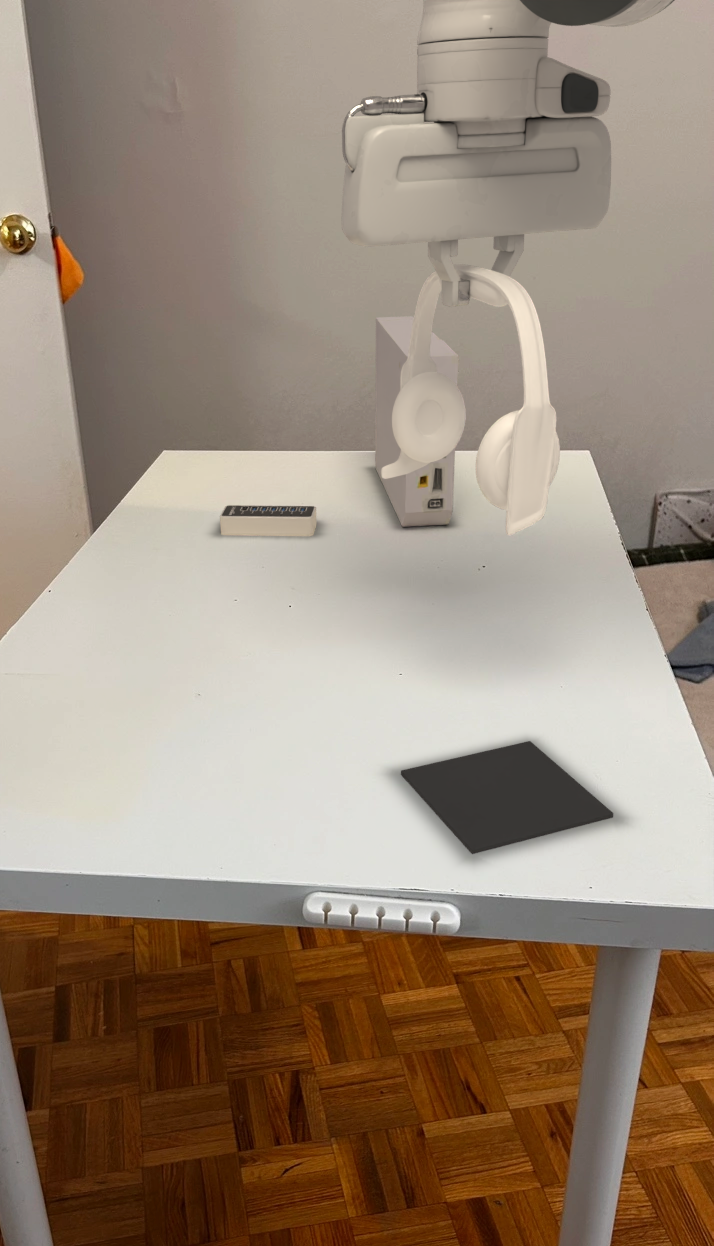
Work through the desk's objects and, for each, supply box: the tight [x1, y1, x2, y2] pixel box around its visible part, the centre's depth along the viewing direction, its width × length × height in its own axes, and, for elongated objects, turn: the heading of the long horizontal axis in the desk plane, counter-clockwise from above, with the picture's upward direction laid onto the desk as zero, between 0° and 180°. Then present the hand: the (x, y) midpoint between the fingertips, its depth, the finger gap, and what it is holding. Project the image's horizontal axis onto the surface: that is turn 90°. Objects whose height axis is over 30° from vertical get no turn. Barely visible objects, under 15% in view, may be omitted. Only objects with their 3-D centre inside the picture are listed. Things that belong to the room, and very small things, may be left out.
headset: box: [381, 263, 561, 537], centre depth 86 cm, size 20×7×18 cm, turn 20°
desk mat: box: [400, 740, 614, 855], centre depth 79 cm, size 11×11×1 cm
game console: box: [374, 315, 460, 528], centre depth 136 cm, size 6×27×20 cm, turn 4°
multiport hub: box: [219, 504, 318, 537], centre depth 131 cm, size 4×11×2 cm, turn 84°
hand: (474, 303), depth 83 cm, fingers closed on headset
